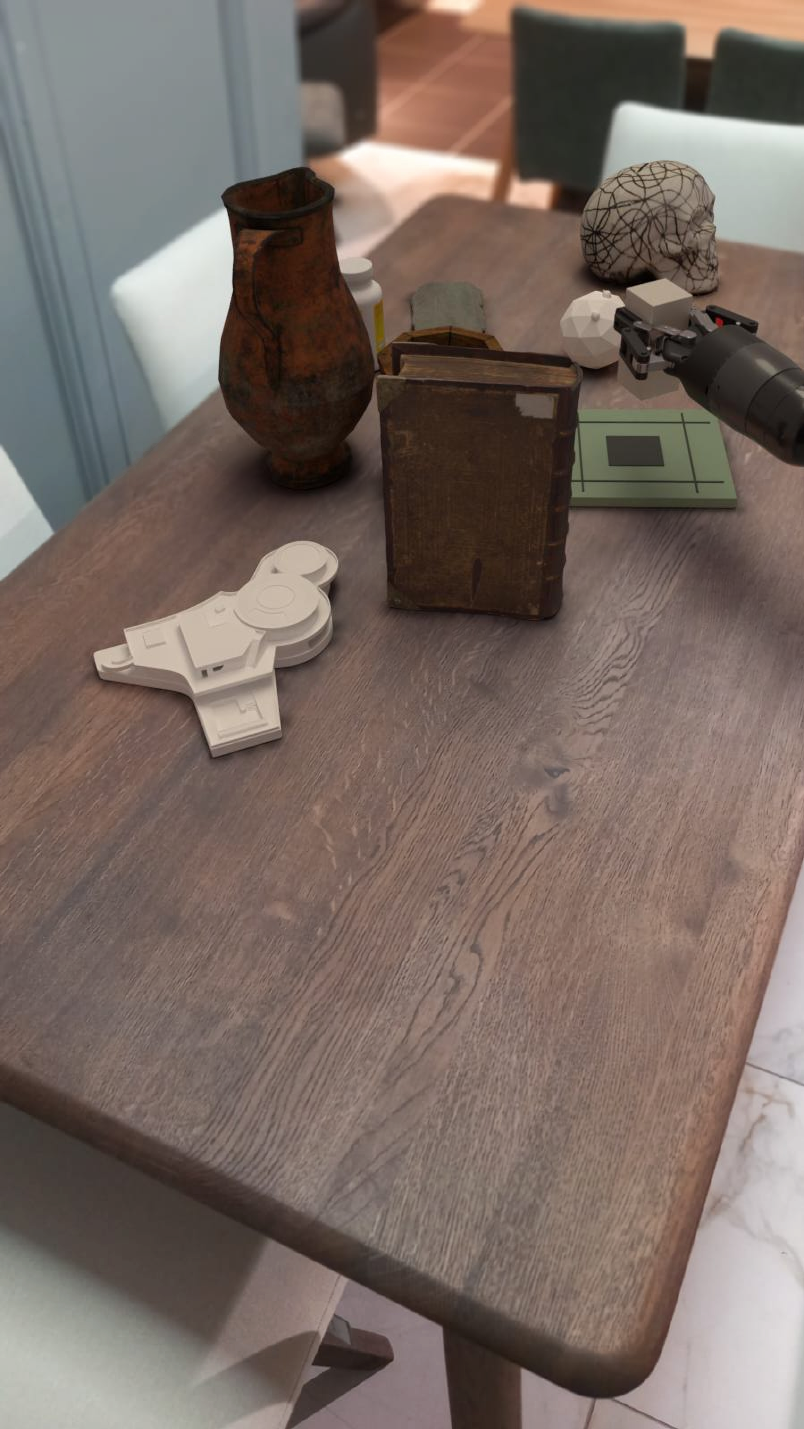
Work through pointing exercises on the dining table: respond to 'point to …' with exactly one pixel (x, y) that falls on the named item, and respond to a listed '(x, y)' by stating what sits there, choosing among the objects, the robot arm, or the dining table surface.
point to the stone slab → (448, 306)
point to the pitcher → (292, 330)
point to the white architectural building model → (235, 646)
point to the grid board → (650, 459)
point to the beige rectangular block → (655, 307)
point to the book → (477, 477)
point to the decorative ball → (591, 330)
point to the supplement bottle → (366, 299)
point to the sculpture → (652, 227)
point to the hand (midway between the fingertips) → (640, 310)
